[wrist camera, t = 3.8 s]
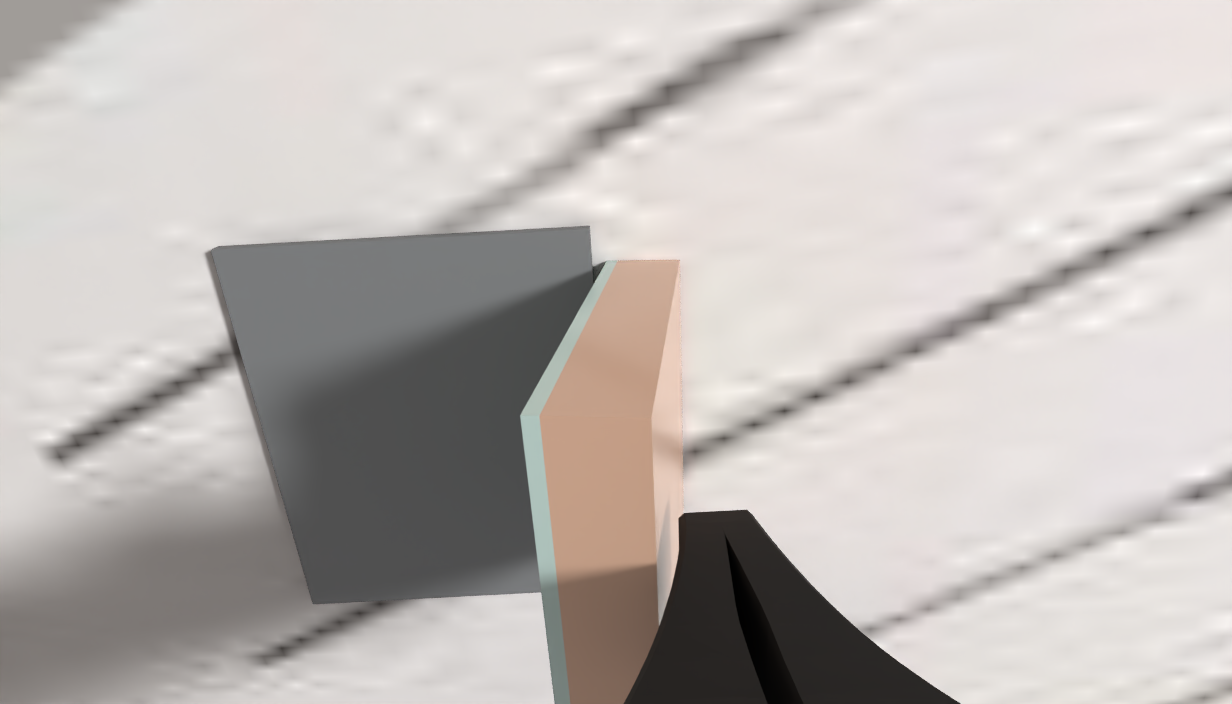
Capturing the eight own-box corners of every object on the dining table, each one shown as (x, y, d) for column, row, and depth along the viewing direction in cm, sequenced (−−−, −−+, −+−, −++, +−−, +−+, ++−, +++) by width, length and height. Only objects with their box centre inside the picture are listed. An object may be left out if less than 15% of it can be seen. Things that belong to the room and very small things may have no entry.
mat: (613, 580, 23) (613, 588, 22) (317, 595, 23) (313, 604, 22) (589, 225, 18) (589, 229, 18) (218, 246, 18) (210, 249, 18)
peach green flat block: (683, 506, 21) (664, 784, 13) (620, 503, 21) (563, 774, 13) (679, 259, 18) (651, 417, 10) (606, 260, 18) (519, 415, 10)
